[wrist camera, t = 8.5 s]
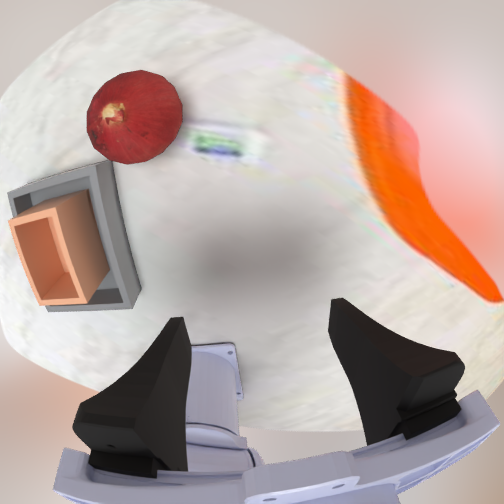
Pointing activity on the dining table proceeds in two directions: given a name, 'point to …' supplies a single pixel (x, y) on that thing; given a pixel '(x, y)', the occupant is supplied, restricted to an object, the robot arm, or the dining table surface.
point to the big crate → (109, 225)
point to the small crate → (61, 249)
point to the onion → (134, 117)
